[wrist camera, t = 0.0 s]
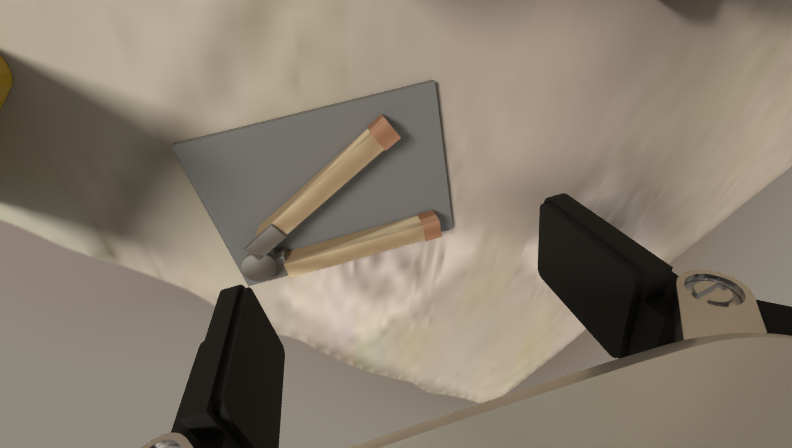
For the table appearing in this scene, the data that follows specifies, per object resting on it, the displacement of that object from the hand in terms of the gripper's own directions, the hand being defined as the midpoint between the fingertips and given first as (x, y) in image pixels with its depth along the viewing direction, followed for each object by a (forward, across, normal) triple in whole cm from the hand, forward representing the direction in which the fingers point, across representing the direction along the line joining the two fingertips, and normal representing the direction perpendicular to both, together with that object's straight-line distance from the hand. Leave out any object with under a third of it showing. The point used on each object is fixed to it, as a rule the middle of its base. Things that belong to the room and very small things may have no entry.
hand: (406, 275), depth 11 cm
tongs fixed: (+36, +4, +20) cm, 41 cm away
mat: (+37, +4, +13) cm, 39 cm away
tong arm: (+35, +6, +13) cm, 38 cm away
